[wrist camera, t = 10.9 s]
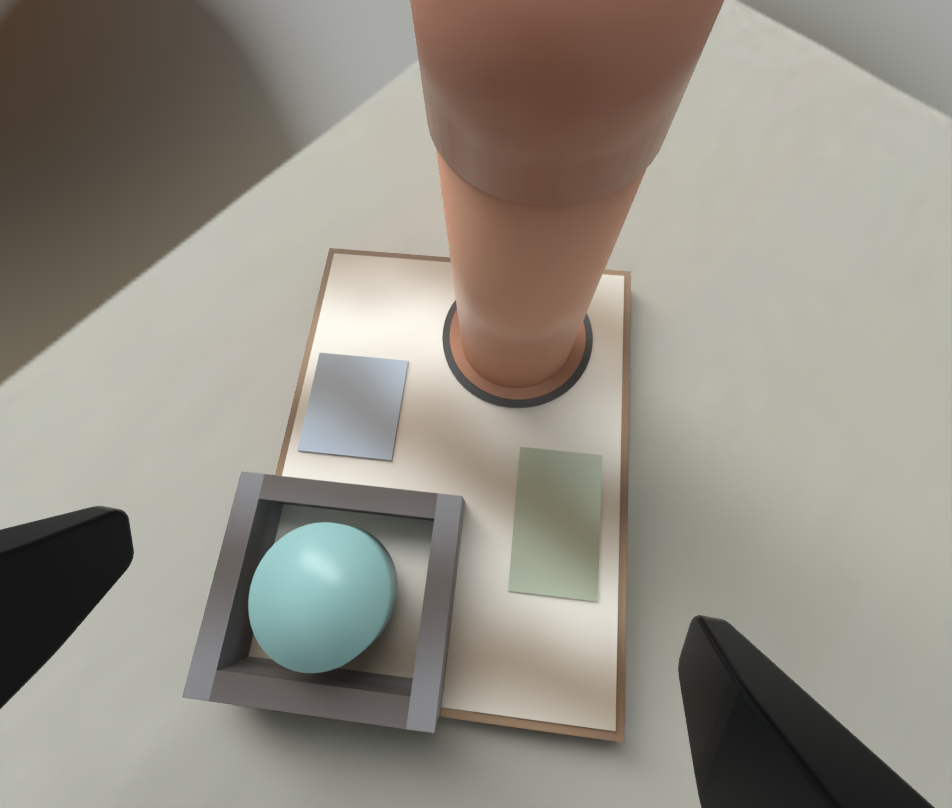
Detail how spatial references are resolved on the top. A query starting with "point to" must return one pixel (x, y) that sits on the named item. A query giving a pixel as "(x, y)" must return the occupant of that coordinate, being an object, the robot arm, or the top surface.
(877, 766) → the robot arm
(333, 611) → the button
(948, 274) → the top surface
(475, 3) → the terracotta tall rounded cylinder
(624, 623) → the cream board
